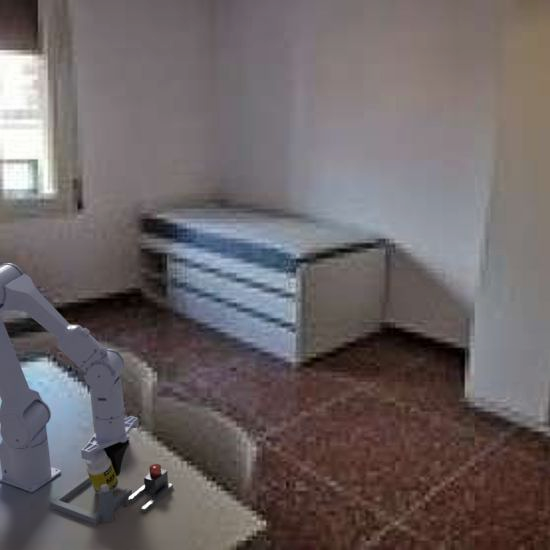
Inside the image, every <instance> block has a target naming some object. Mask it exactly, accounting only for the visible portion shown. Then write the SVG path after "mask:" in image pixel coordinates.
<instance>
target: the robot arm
mask: <svg viewBox="0 0 550 550" xmlns="http://www.w3.org/2000/svg"><path fill="white" fill-rule="evenodd" d="M4 311H22V312H24V313H25V314H27V315H28V316H29V317H30V318H32V320H34V321H35V322H36V323H38V324H39V325H40V326H42V327H43V328H44V329H45V330H46V331H48V332H49V333H50V334H51V335H52V336H54V337H55V338H56V347H57V349H59V350H60V351H61V353H63V354H64V355H65V356H67V357H68V358H69V360H71V362H73V363H74V364H75V365H76V366H77V367H78V368H79V369H80V370H82V371H83V373H85V374H84V375H83V377H84V380H85V382H86V384H87V385H88V386H89V387H90V390H92V402H93V412H94V423H95V433H94V434H93V435H92V437H91V438H90V440H89V441H88V442H87V443H86V445H85V446H84V447H83V448H81V449H80V451H81V453H80V454H81V459H83V460H84V461H85V460H89V461H90V460H92V459H93V456H94V455H95V454H96V453H98V452H99V451H101V450H102V449H103V450H104V451H105V452H106V454H107V456H108V457H109V458H110V460H111V463H112V465H113V468H114V471H115V474H116V476H117V477H119V476H120V474H121V470H122V466H123V465H122V464H123V460H124V457H125V453H126V451H127V449H128V448H129V446H130V435H129V433H130V432H131V431H132V429H137V428H138V427H139V426H140V425H139V418H138V417H135V416H131V415H130V416H128V417H125V419H124V411H125V405H124V406H123V400H124V393H123V394H122V388H123V387H122V386H123V385H122V377H121V374H122V372H123V371H124V370H125V369H124V368H125V361H124V358H123V357H122V355H121V354H120V353H119V351H117V350H115V349H113V348H107V347H105V346H103V345H102V344H101V343H99V341H98V340H97V339H95V337H94V336H92V335H91V331H90V329H88V328H87V327H82V326H81V325H80V324H71V323H69V322H68V321H67V319H66V318H64V317H63V315H62V314H61V313H59V311H58V310H57V309H56V308H55V307H54V306H53V305H52V304H51V303H50V302H49V301H48V299H46V297H44V295H42V293H41V292H40V291H39V290H38V289H37V288H36V286H35V284H34V282H33V279H32V278H31V277H30V276H29V275H27V273H24V272H23V269H21V268H20V267H19V266H18V265H16V264H14V263H10V262H5V263H4V262H3V263H1V264H0V400H1V402H0V437H1V439H2V440H1V441H0V469H1V470H0V471H1V476H0V482H1V483H5V484H8V485H10V486H13V487H17V488H19V489H22V490H24V491H28V492H30V493H33V492H36V491H37V490H39V489H40V488H41V487H43V486H44V485H46V483H49V482H50V481H51V480H53V479H54V478H56V477H57V476H58V475H60V474H61V473H62V470H61V469H58V468H56V467H53V466H51V465H52V463H51V459H50V458H51V457H50V449H49V439H48V432H47V424H48V423H49V422H50V420H51V417H52V412H51V409H50V407H49V405H48V404H47V403H46V401H44V400H43V399H42V398H41V395H40V393H39V392H38V391H37V390H35V389H31V388H30V386H29V383H28V381H27V379H26V377H25V374H24V371H23V369H22V366H21V364H20V361H19V358H18V357H17V353H16V351H15V348H14V346H13V344H12V341H11V339H10V336H9V334H8V331H7V328H6V326H5V324H4V321H3V317H2V316H3V313H4Z"/></svg>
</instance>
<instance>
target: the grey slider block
mask: <svg viewBox="0 0 550 550" xmlns="http://www.w3.org/2000/svg"><path fill="white" fill-rule="evenodd" d="M148 469H149V473H148V474H146V476H144V477H143V481H144V483H143V485H145V492H144V494H146V495H148V496H152V497H154V496H156V495H157V494H158V493H159V492H160V491H161V490H162V489H164V488H165V487H166V486H167V485H168V484H169V480H168V479H169V478H168V477H169V476H168V470H166V469H162V465H161V464H159V463H153V464H151V465H150V466H149V468H148Z"/></svg>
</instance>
